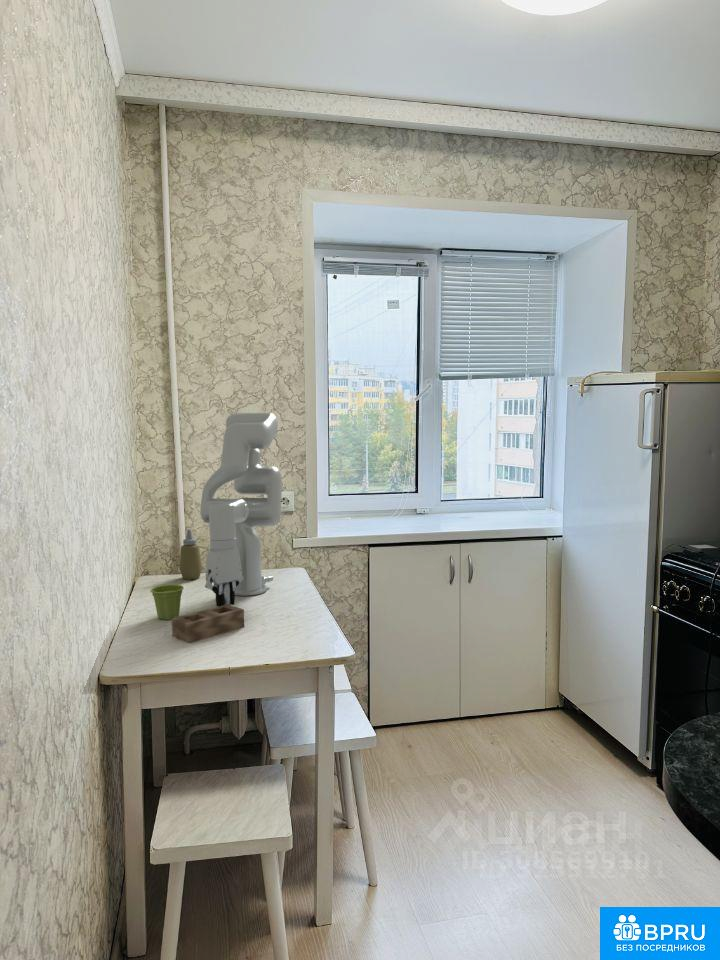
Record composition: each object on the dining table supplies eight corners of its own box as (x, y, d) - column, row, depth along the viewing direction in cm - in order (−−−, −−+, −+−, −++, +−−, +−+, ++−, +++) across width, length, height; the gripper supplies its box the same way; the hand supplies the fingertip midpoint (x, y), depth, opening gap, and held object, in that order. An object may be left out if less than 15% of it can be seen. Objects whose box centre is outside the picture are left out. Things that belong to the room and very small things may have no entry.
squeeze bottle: (181, 576, 254) (179, 528, 253) (203, 575, 255) (201, 527, 254) (178, 581, 246) (176, 531, 245) (201, 580, 247) (199, 531, 246)
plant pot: (151, 614, 207) (150, 586, 206) (183, 610, 210) (182, 583, 209) (152, 623, 198) (150, 593, 197) (185, 619, 201) (184, 590, 200)
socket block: (227, 621, 199) (227, 604, 198) (244, 626, 193) (243, 609, 193) (172, 636, 186) (171, 618, 185) (189, 643, 180) (188, 624, 180)
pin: (227, 613, 206) (225, 580, 205) (233, 615, 204) (231, 582, 203) (218, 615, 204) (217, 582, 203) (224, 617, 202) (223, 584, 201)
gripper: (238, 538, 211) (240, 597, 212) (192, 547, 199) (194, 609, 201) (253, 541, 205) (255, 601, 207) (207, 550, 194) (209, 614, 196)
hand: (225, 604), depth 204 cm, fingers closed on pin, 3 cm apart
